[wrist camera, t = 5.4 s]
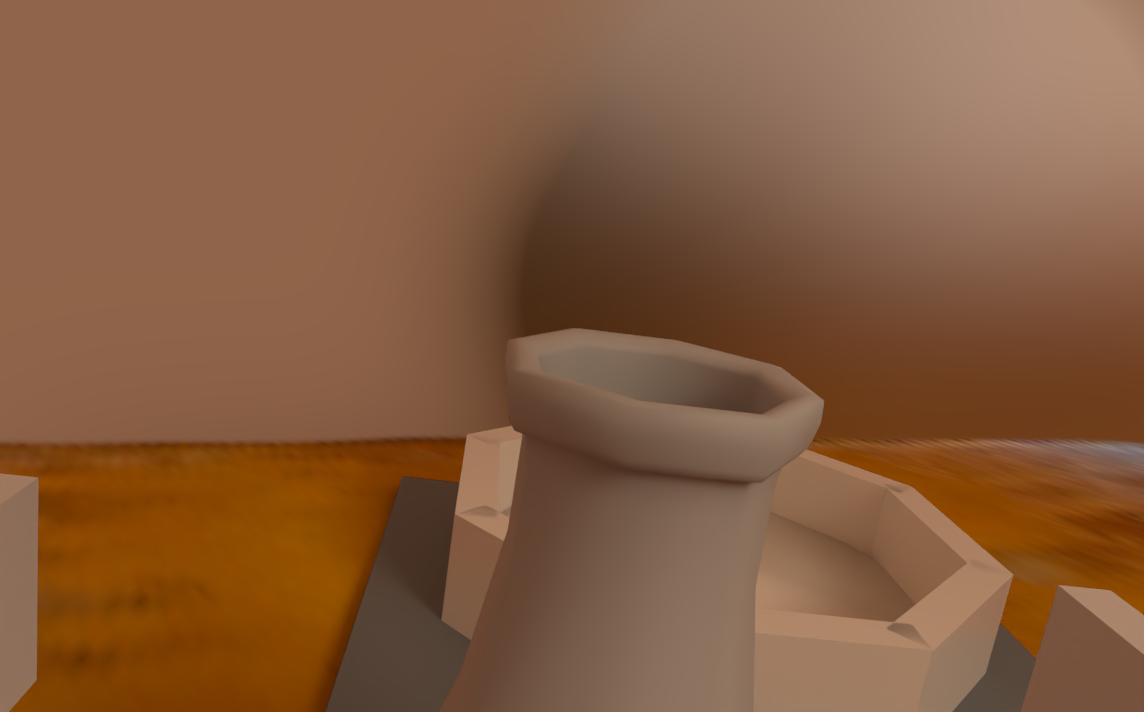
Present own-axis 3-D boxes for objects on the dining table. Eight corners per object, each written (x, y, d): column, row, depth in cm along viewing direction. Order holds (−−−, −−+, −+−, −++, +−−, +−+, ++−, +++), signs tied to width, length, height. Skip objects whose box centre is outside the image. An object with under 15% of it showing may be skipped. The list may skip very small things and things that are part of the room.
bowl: (845, 515, 32) (862, 443, 32) (1084, 785, 19) (1122, 669, 18) (463, 471, 31) (473, 396, 30) (424, 728, 18) (440, 602, 17)
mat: (906, 543, 32) (909, 533, 32) (1238, 883, 17) (1246, 866, 17) (401, 487, 30) (402, 476, 30) (297, 812, 15) (298, 792, 15)
